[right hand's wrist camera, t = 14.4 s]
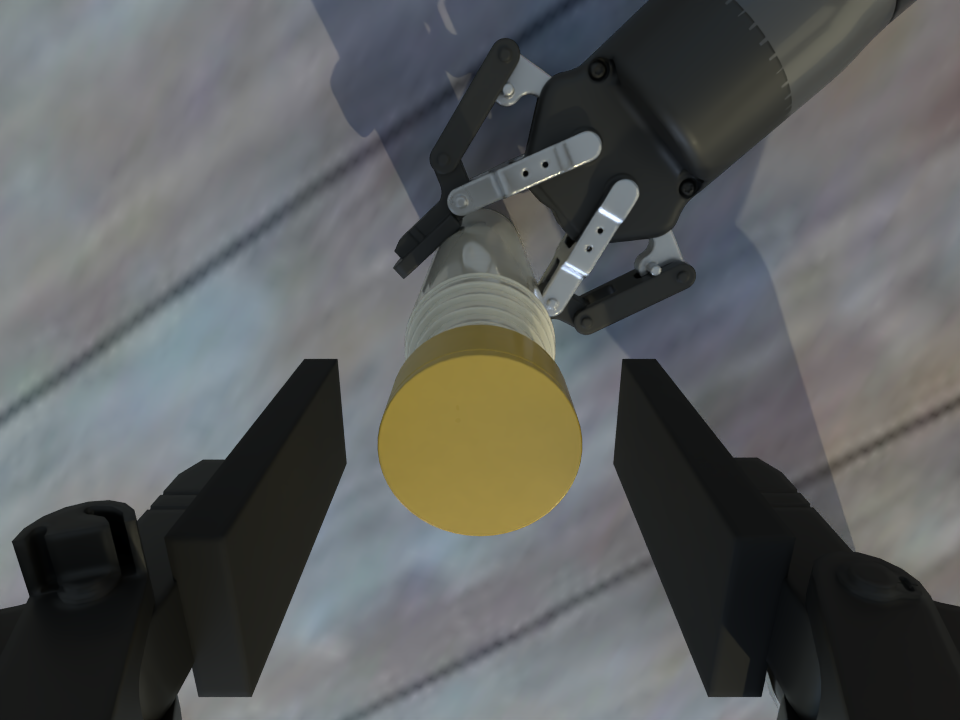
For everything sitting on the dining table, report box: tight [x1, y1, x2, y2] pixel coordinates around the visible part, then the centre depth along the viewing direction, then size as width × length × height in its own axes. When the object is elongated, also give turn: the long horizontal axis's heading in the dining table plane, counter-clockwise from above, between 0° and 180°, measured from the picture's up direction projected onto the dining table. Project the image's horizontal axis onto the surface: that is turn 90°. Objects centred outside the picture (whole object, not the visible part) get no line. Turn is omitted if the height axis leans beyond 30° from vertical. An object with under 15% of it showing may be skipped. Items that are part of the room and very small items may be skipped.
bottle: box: [405, 208, 555, 361], centre depth 24 cm, size 5×5×23 cm
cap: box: [378, 325, 582, 536], centre depth 13 cm, size 4×4×2 cm
